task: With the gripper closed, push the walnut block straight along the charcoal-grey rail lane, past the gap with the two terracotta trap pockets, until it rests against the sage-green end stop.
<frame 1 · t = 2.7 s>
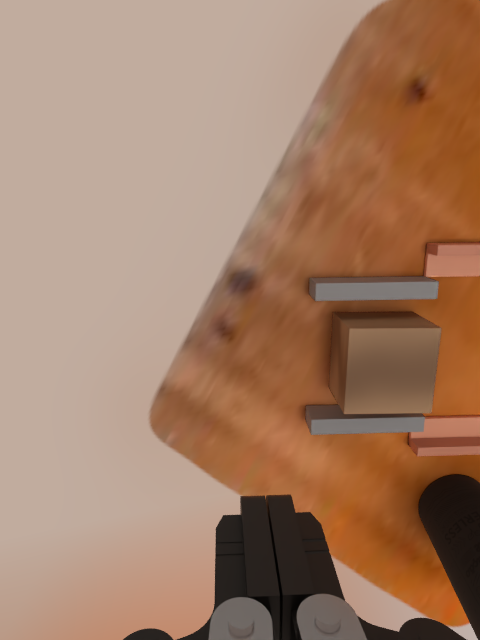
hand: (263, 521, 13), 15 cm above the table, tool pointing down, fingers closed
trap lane: (463, 348, 29), on the table
walnut block: (369, 349, 29), on the table
drinking cup: (450, 502, 32), on the table
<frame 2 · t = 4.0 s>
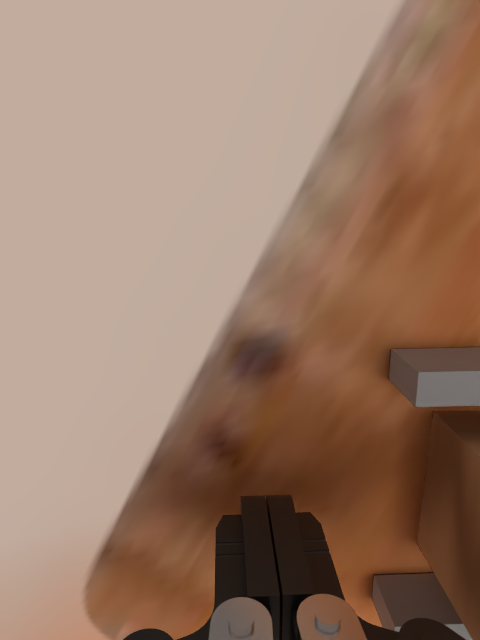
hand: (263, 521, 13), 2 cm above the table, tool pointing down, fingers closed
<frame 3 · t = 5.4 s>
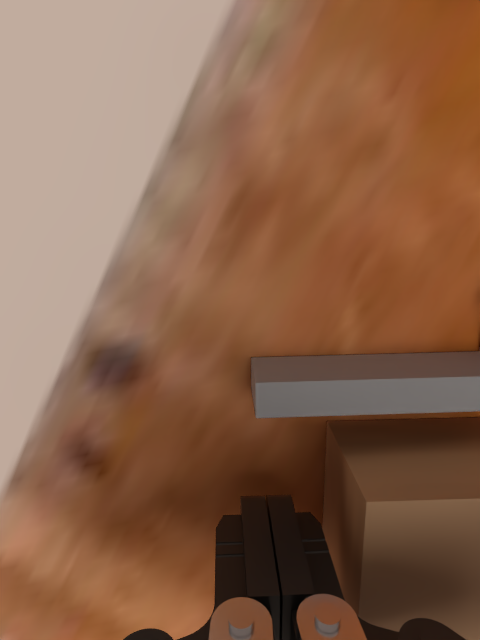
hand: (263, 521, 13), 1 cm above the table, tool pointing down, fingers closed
walnut block: (398, 488, 15), on the table, touching gripper
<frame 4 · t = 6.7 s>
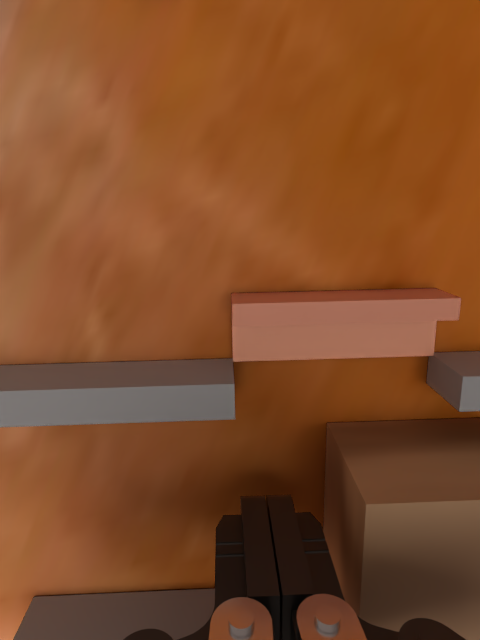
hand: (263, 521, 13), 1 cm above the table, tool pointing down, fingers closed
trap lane: (327, 490, 15), on the table
walnut block: (399, 489, 15), on the table, touching gripper
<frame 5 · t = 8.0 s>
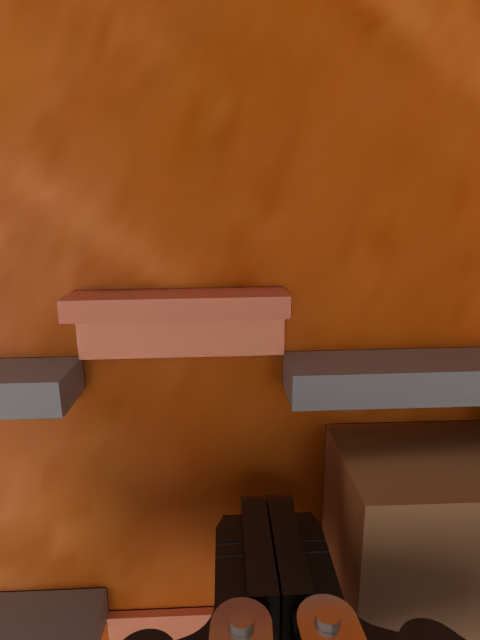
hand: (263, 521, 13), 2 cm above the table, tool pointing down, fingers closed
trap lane: (189, 491, 15), on the table
walnut block: (397, 490, 15), on the table, touching gripper
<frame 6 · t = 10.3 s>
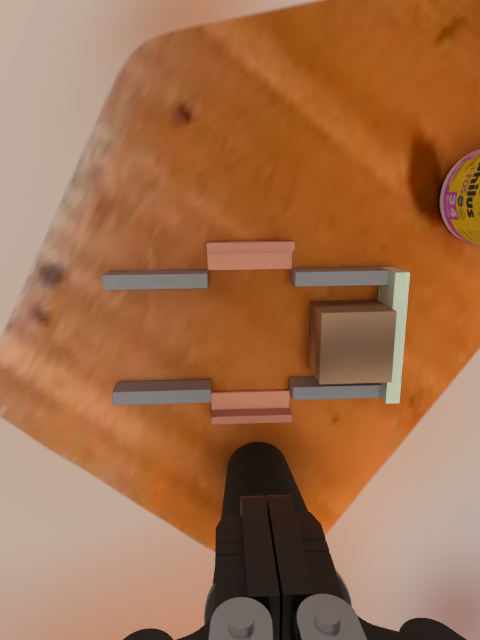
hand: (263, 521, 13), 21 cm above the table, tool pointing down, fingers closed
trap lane: (249, 331, 33), on the table
walnut block: (341, 332, 34), on the table
supplement bottle: (479, 197, 32), on the table
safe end: (382, 328, 34), on the table
drinking cup: (256, 467, 36), on the table
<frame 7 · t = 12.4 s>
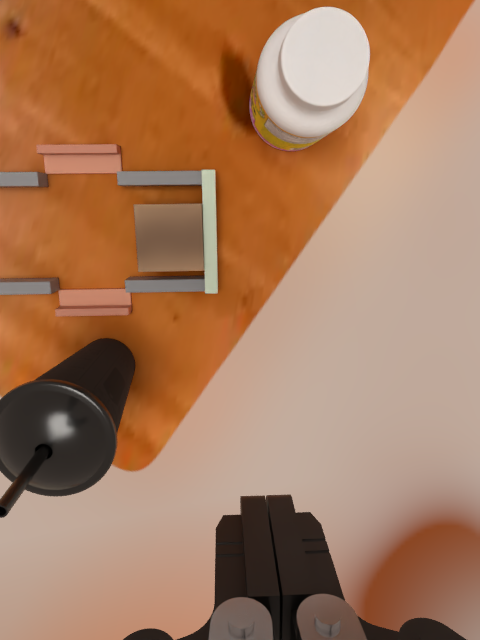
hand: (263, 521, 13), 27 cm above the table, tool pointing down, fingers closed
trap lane: (90, 233, 37), on the table
walnut block: (174, 234, 38), on the table
supplement bottle: (289, 109, 36), on the table
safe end: (210, 231, 38), on the table
drinking cup: (108, 363, 40), on the table
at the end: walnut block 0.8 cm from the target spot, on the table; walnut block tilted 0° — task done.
